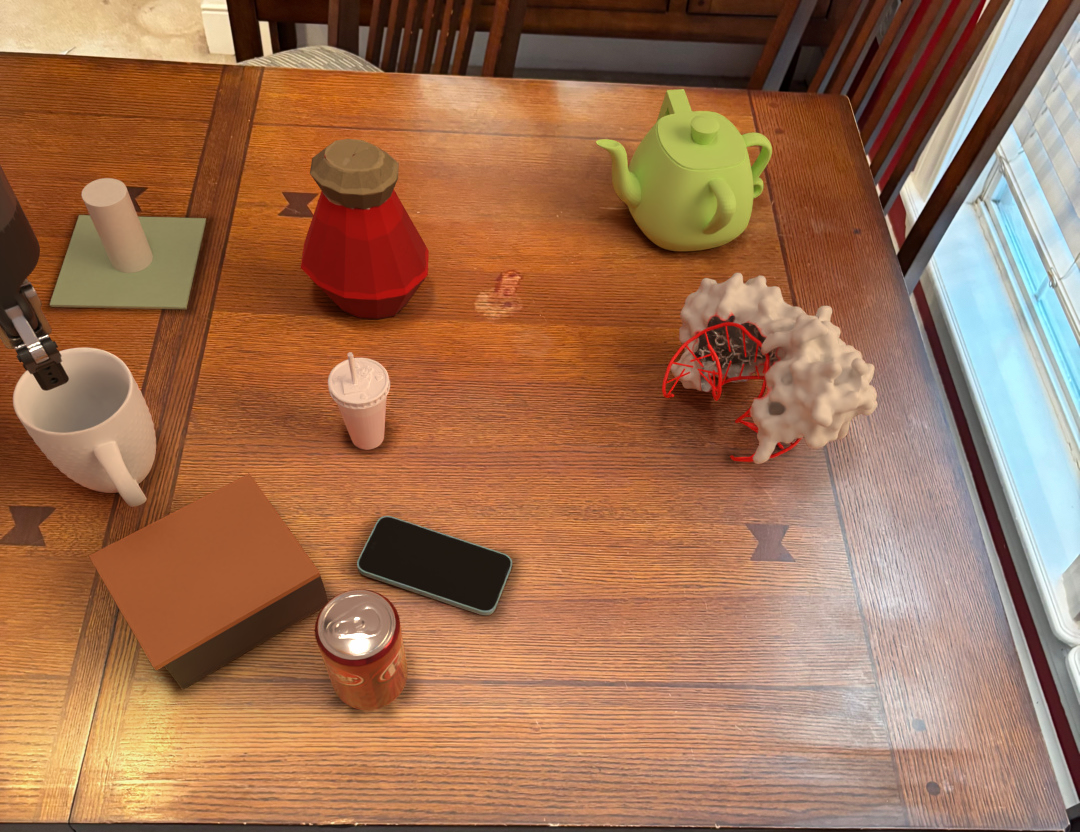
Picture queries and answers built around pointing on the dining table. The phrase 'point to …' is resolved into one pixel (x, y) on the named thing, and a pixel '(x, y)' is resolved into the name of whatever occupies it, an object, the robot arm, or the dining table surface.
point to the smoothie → (361, 399)
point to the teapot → (689, 177)
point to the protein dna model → (772, 363)
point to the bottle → (362, 233)
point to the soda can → (362, 648)
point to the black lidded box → (248, 634)
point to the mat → (154, 287)
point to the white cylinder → (117, 224)
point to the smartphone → (435, 565)
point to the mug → (92, 423)
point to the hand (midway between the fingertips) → (53, 381)
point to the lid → (203, 569)
